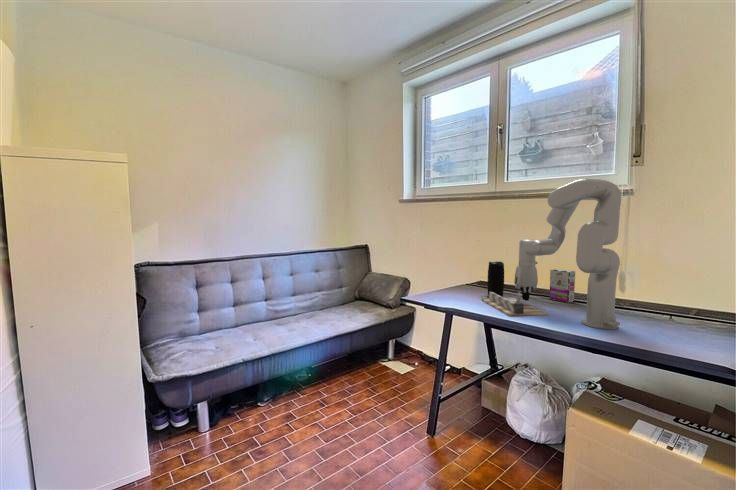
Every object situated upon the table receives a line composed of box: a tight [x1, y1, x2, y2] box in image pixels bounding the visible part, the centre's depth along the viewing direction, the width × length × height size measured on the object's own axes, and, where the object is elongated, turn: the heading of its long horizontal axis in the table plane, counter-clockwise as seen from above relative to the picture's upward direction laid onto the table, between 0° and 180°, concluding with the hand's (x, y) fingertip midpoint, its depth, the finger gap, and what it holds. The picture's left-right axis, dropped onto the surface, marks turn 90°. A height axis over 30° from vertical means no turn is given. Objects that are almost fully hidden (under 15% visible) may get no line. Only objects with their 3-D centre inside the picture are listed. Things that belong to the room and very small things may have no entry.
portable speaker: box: [487, 261, 505, 297], centre depth 190 cm, size 9×9×20 cm
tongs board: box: [481, 292, 548, 317], centre depth 169 cm, size 30×18×5 cm, turn 5°
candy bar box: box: [549, 268, 576, 304], centre depth 182 cm, size 11×5×16 cm, turn 25°
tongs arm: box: [516, 291, 522, 303], centre depth 168 cm, size 25×2×4 cm, turn 155°
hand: (525, 299), depth 173 cm, fingers closed
